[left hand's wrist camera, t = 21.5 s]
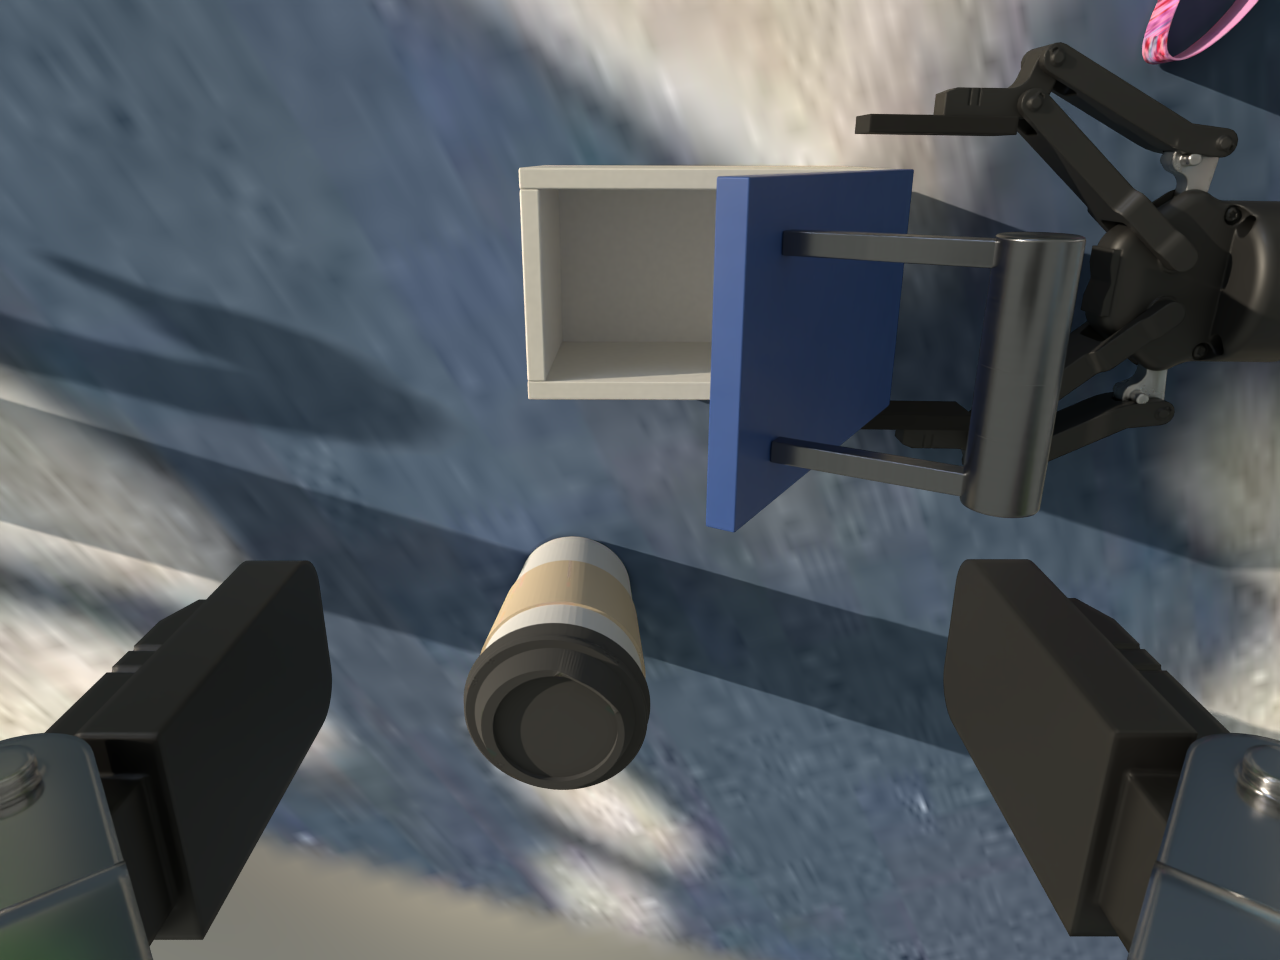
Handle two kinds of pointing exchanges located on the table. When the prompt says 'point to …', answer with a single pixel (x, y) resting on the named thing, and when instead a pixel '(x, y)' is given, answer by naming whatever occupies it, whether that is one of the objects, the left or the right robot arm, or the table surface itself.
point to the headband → (1158, 34)
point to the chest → (622, 278)
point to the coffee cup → (562, 671)
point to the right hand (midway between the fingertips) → (847, 277)
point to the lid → (869, 342)
